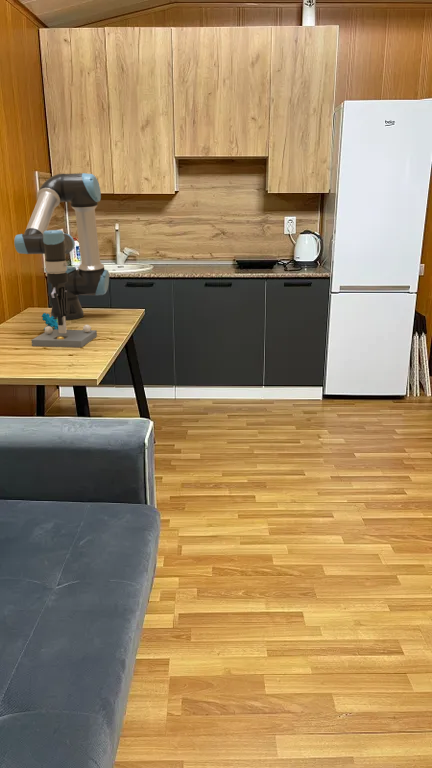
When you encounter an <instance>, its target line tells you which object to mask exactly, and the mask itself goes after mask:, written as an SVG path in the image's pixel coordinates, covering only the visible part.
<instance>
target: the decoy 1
mask: <svg viewBox="0 0 432 768" xmlns="http://www.w3.org/2000/svg"><path fill="white" fill-rule="evenodd" d="M46 326H47V325H46ZM46 326H45V327H46ZM45 327H44V328H45ZM53 329H54V327H50V326H47V327H46V328H45V330H44V332H46V333H47V334H51V333H52V332H53Z"/></svg>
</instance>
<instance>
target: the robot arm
mask: <svg viewBox="0 0 432 768" xmlns="http://www.w3.org/2000/svg"><path fill="white" fill-rule="evenodd" d="M101 194H102V192H101V187H100V182H99V181H98V178H97V177H96V176H95V175H94V174H93V173H86V172H82V173H81V172H79V173H77V172H76V173H57V174H55V175H53V176H51V177H49V178H47V179H46V180H45V181H44V182H43V183H42V184H41V186H40V187H39V190H38V191H37V194H36V197H37V201H36V203H35V206H34V209H33V211H32V213H31V216H30V218H29V221H28V223H27V225H26V229H25V230H24V232H23V233H20V234H16V235H15V236H14V242H13V243H14V249H15V251H16V252H17V253H18V254H20V255H21V254H24V255H25V254H26V255H43V254H44V258H45V270H46V272H47V274H46V277H47V283H48V284H50V285H51V292H49V293H48V294H49V297H50V300H51V305H52V307H51V311H50V317H51V316H53V317H54V320H56V319H57V320H58V330H59V333H67V330H68V329H67V321H68V320H77V319H81V318H83V317H84V310H83V308H82V305H81V302H80V300H79V296H103V295H106V293H107V292H108V289H109V282H110V273H109V270H107V269H105V264H103V263H102V262H101V256H100V248H99V239H98V237H99V236H98V229H97V220H96V219H97V218H96V208H97V207H98V203H99V202H101V198H102V195H101ZM64 202H65V203H70V207H71V208H72V209H73V210H74V213H75V221H76V222H75V224H76V229H77V230H76V231H77V237H78V245H79V247H78V248H79V254H80V262H81V264H80V265H79V266H78V269H77V267H76V266H68V263H67V258H66V257H67V255H66V254H69V253H71V252H72V251H73V250H74V248H75V245H76V243H75V240H74V238H73V236H71V234H68V233H64V231H63V230H61V229H49V230H48V228H49V225H50V222H51V220H52V217H53V214H54V212H55V209H56V207H57V208H58V206H59V205H60V203H64Z"/></svg>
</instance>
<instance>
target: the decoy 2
mask: <svg viewBox="0 0 432 768" xmlns="http://www.w3.org/2000/svg"><path fill="white" fill-rule="evenodd" d="M82 330H84V332H86V333H88V332H90V331H91V330H92V326H91V325H89V324H84V325H83V327H82Z"/></svg>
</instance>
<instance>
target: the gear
mask: <svg viewBox="0 0 432 768" xmlns="http://www.w3.org/2000/svg"><path fill="white" fill-rule="evenodd" d="M41 318H42V320H43V321H44V323H45V325H46V326H45V327H44V328H43V331H45V328H46V327H47V326H50V327H52V328H53V329H56V330H58V320H57V319H54V317H53V316H51V314H49V313H45V312H43V314H42V315H41Z"/></svg>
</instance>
